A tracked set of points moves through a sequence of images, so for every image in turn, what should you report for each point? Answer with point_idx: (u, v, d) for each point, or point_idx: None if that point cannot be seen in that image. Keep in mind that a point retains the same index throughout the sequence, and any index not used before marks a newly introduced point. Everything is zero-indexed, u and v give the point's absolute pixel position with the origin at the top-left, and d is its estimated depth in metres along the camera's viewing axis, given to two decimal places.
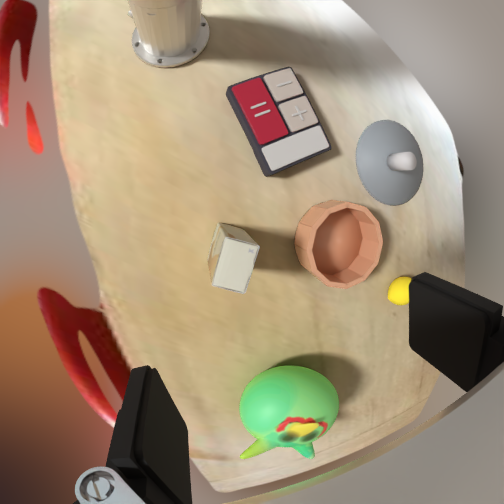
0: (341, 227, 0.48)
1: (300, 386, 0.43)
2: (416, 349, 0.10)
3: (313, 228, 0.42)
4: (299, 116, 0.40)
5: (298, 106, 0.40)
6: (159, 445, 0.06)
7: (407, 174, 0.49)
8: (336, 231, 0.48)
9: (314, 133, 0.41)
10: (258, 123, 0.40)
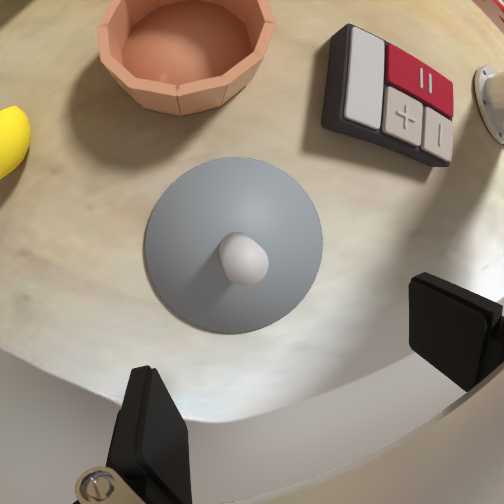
0: (195, 69, 0.22)
1: None
2: (416, 349, 0.10)
3: None
4: (402, 112, 0.23)
5: (413, 123, 0.23)
6: (159, 445, 0.06)
7: (195, 273, 0.26)
8: (195, 58, 0.21)
9: (373, 111, 0.22)
10: (412, 63, 0.22)
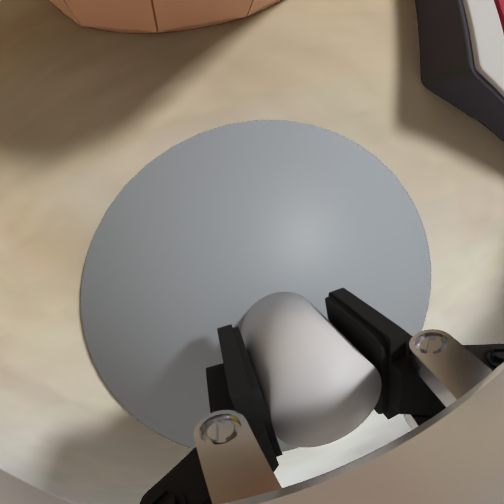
0: None
1: None
2: None
3: None
4: None
5: None
6: None
7: (192, 375, 0.11)
8: None
9: None
10: None
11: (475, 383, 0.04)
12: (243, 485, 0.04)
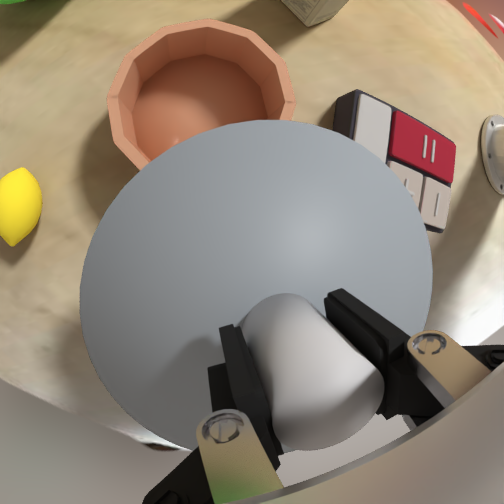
0: None
1: None
2: None
3: (280, 62, 0.18)
4: None
5: None
6: None
7: (193, 377, 0.11)
8: (209, 128, 0.23)
9: None
10: (417, 131, 0.24)
11: (474, 384, 0.04)
12: (245, 484, 0.04)
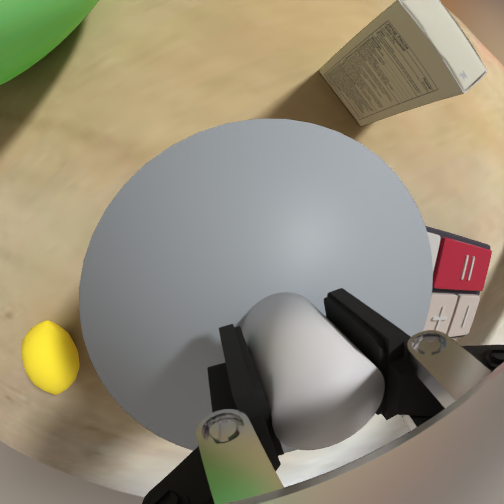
0: None
1: None
2: None
3: None
4: (437, 316, 0.24)
5: (444, 321, 0.24)
6: None
7: (192, 377, 0.11)
8: None
9: None
10: (460, 253, 0.23)
11: (474, 384, 0.04)
12: (245, 484, 0.04)
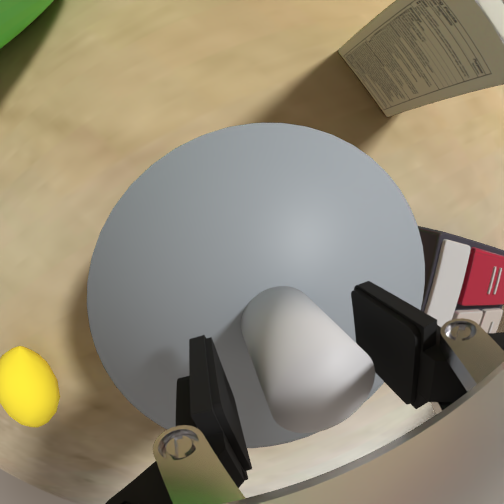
0: None
1: None
2: None
3: None
4: None
5: None
6: (226, 404, 0.07)
7: None
8: None
9: None
10: (489, 265, 0.19)
11: None
12: (207, 498, 0.04)
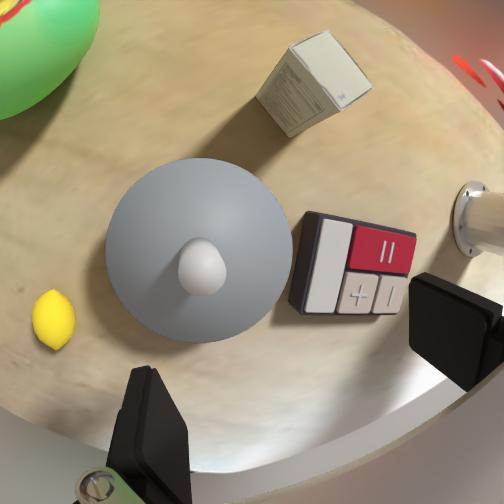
0: None
1: (45, 50, 0.15)
2: (416, 349, 0.10)
3: None
4: (357, 292, 0.32)
5: (365, 297, 0.33)
6: (159, 445, 0.06)
7: (157, 281, 0.24)
8: None
9: (330, 300, 0.32)
10: (376, 239, 0.31)
11: None
12: None
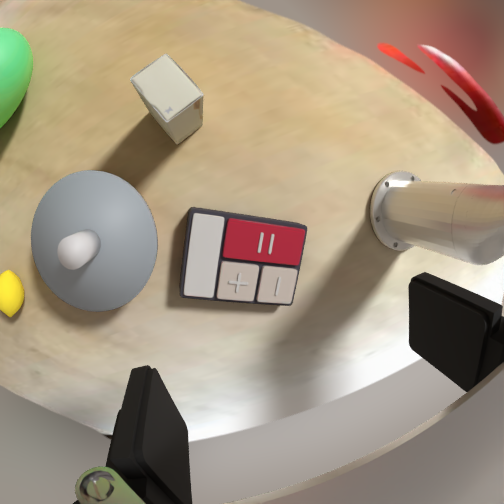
0: None
1: None
2: (416, 349, 0.10)
3: None
4: (234, 280, 0.36)
5: (245, 286, 0.37)
6: (159, 445, 0.06)
7: None
8: None
9: (207, 286, 0.36)
10: (252, 231, 0.36)
11: None
12: None
